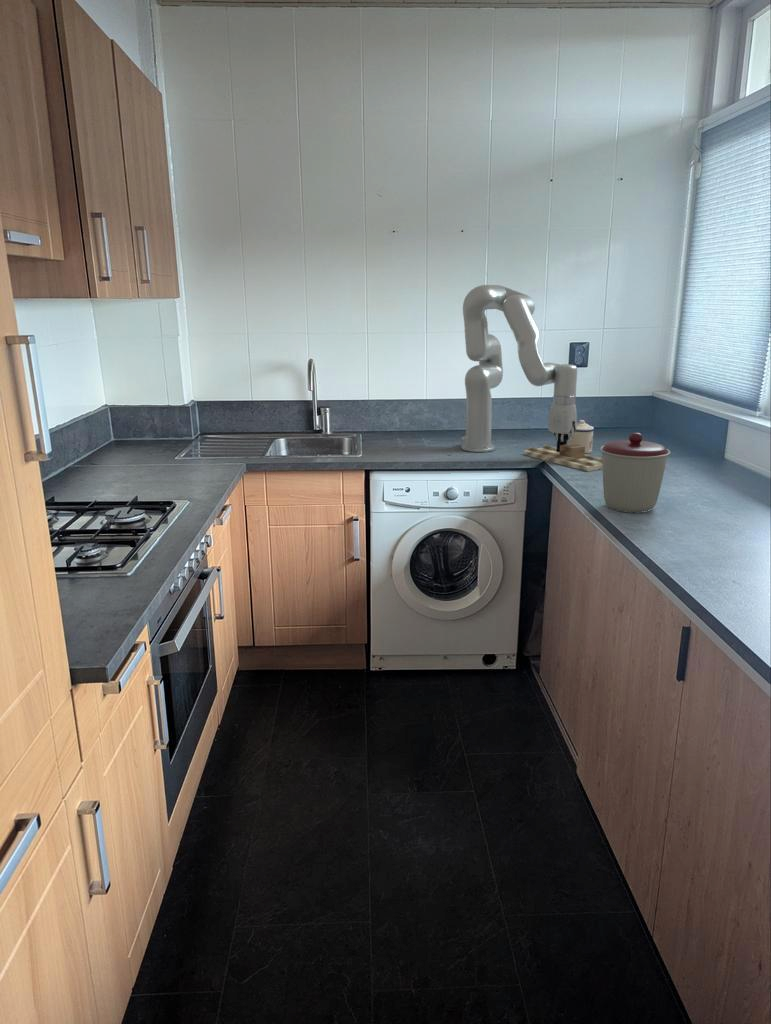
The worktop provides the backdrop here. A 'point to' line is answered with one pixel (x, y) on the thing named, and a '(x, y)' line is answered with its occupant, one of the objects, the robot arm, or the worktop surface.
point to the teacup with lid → (583, 436)
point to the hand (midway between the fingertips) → (561, 451)
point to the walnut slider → (572, 450)
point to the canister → (632, 473)
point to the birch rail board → (565, 458)
